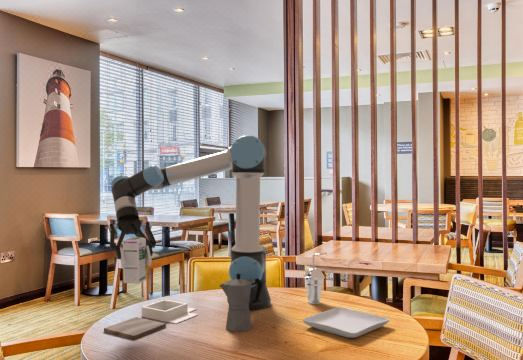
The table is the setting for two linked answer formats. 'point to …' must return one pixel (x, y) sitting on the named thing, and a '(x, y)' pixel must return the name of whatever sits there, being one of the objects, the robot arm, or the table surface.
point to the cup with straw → (314, 283)
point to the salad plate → (345, 322)
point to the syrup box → (134, 260)
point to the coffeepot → (240, 302)
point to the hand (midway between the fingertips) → (137, 264)
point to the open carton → (168, 311)
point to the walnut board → (135, 328)
